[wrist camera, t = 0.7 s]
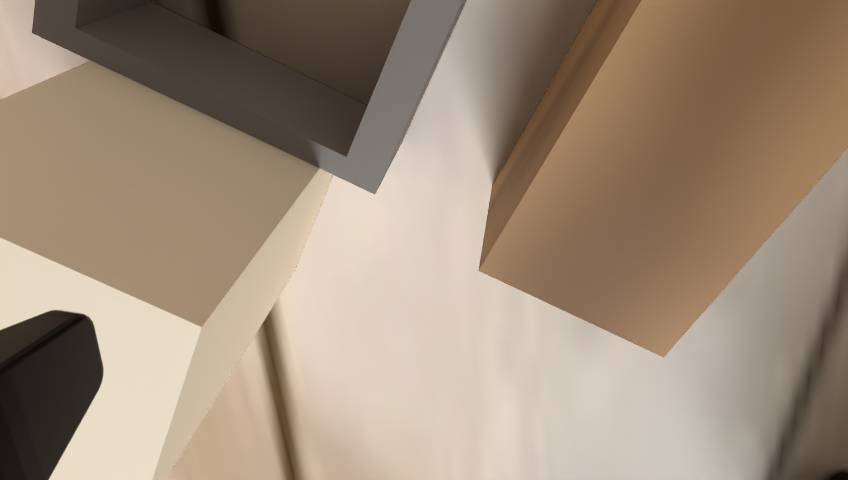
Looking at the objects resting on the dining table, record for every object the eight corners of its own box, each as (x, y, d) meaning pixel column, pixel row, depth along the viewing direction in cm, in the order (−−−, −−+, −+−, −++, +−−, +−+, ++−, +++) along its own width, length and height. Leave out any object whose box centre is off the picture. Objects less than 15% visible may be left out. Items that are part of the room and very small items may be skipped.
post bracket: (477, -25, 17) (407, 91, 8) (334, 290, 22) (203, 554, 14) (147, -192, 16) (-308, -256, 7) (85, 177, 22) (-214, 380, 13)
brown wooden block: (1038, -277, 13) (1280, -346, 9) (638, 252, 20) (663, 357, 16) (823, -403, 13) (966, -539, 8) (493, 182, 20) (479, 270, 16)
